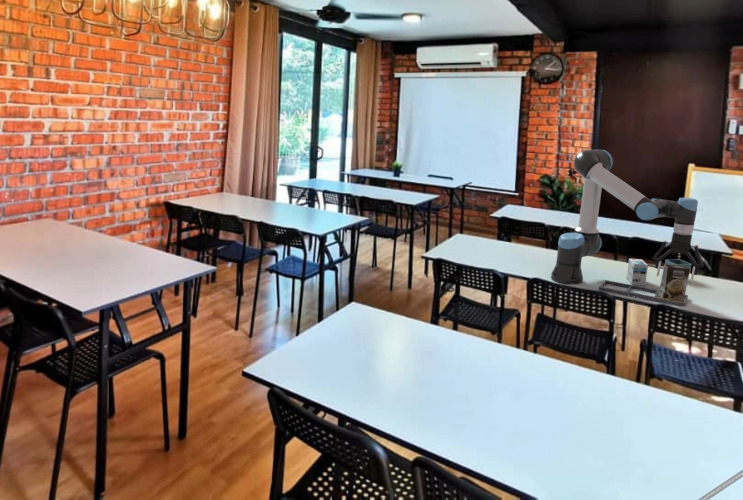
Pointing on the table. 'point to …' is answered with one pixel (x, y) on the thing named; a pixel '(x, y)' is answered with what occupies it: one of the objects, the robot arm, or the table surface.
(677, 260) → the flower pot
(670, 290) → the brown cardboard box
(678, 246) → the robot arm
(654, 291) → the gray sectioned tray
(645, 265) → the light bulb box
